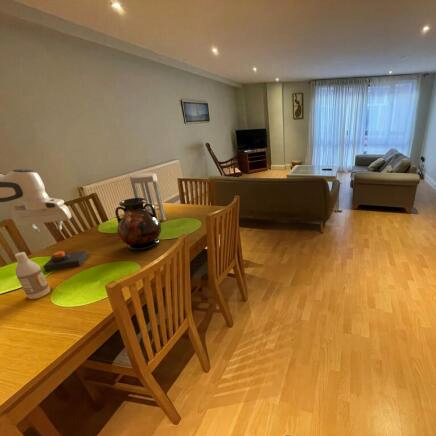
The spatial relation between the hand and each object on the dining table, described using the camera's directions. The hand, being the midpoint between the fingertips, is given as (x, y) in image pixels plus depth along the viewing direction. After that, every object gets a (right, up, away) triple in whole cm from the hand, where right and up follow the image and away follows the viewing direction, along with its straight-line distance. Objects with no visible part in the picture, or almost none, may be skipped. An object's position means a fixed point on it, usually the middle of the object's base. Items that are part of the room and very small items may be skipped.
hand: (49, 230), depth 117 cm
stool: (+18, +3, +59) cm, 62 cm away
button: (0, -13, +5) cm, 15 cm away
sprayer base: (+2, -17, +8) cm, 19 cm away
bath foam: (+11, -27, -15) cm, 33 cm away
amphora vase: (+31, -10, +26) cm, 42 cm away
